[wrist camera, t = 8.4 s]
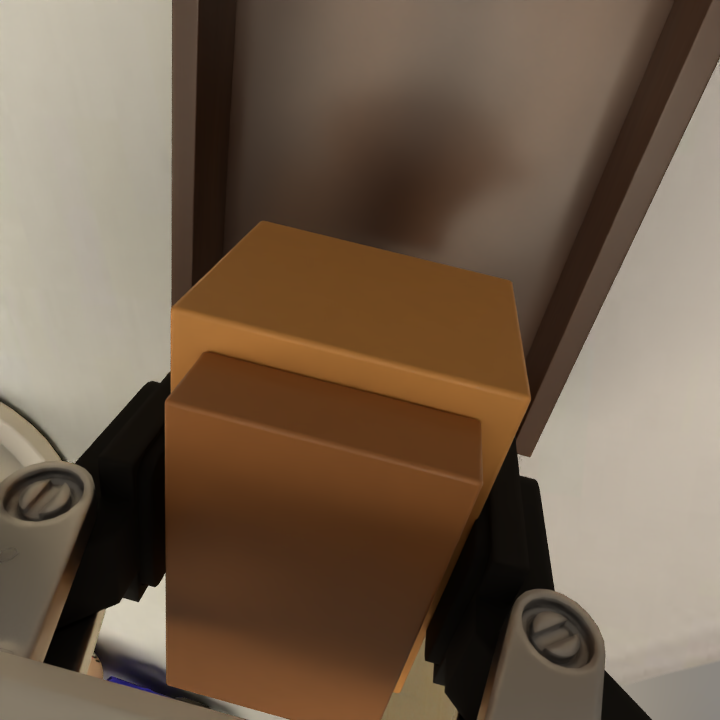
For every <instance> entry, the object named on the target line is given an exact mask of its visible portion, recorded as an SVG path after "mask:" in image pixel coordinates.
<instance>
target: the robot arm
mask: <svg viewBox="0 0 720 720" xmlns="http://www.w3.org/2000/svg"><path fill="white" fill-rule="evenodd" d="M170 394H171V371H170V372H169V373H168V374H167V376H166V377H165V378H164V379H163V380H162V382H161V383H158V382H155V381H150V382H148V383H147V384H145V385H144V386H143V387H142V388H141V389H140V391H139V392H138V393H137V394H136V395H135V396H134V397H133V398H132V400H131V401H130V402H129V403H128V404H127V405H126V406H125V407H124V409H123V410H122V411H121V412H120V413H119V414H118V415H117V416H116V418H115V419H114V420H113V421H112V422H111V423H110V424H109V425H108V427H107V428H106V429H105V430H104V431H103V432H102V433H101V434H100V436H99V437H98V438H97V439H96V440H95V441H94V442H93V443H92V445H91V446H90V447H89V448H88V449H87V450H86V451H85V452H84V454H83V455H82V456H81V457H80V458H79V459H78V460H77V461H76V463H75V464H74V463H70V462H64V461H61V459H60V457H59V456H58V454H57V453H56V452H55V450H54V449H53V448H52V446H51V445H50V444H49V442H48V441H47V440H46V439H45V438H44V437H43V436H42V435H41V434H40V433H39V432H38V431H37V430H36V428H35V427H34V426H33V425H32V424H30V423H29V422H28V421H27V420H25V419H24V418H23V417H22V416H20V415H19V414H18V413H17V412H15V411H14V410H13V409H11V408H10V407H8V406H6V405H5V404H3V403H2V402H0V720H247V719H243V718H240V717H236V716H233V715H229V714H225V713H222V712H218V711H215V710H211V709H208V708H204V707H200V706H197V705H193V704H190V703H186V702H183V701H179V700H176V699H172V698H168V697H165V696H161V695H158V694H154V693H151V692H147V691H143V690H140V689H136V688H133V687H129V686H125V685H122V684H118V683H114V682H111V681H107V680H104V679H100V678H96V677H93V676H89V675H87V671H88V668H89V665H90V662H91V658H92V655H93V652H94V648H95V645H96V642H97V638H98V635H99V632H100V628H101V625H102V622H103V618H104V615H105V611H106V608H108V607H111V606H113V605H116V604H118V603H120V601H121V599H122V598H126V599H129V600H133V601H136V602H139V601H140V599H141V597H142V595H143V594H144V592H145V590H146V588H147V587H148V585H149V586H153V587H156V586H157V585H158V584H159V583H160V581H161V580H162V578H163V576H164V574H165V572H166V546H165V401H166V399H167V397H168V396H169V395H170ZM424 656H425V661H427V662H431V663H434V670H433V683H435V684H439V685H442V686H445V689H444V693H445V694H446V695H447V697H448V698H449V699H450V701H451V702H452V704H453V705H454V706H455V710H454V714H453V717H452V720H652V719H651V718H650V717H649V716H648V715H647V714H646V713H645V712H644V711H643V710H642V709H641V708H640V707H639V706H638V705H637V703H636V702H635V701H634V700H633V699H632V698H631V697H630V696H629V695H628V694H627V693H626V692H625V691H624V690H623V689H622V688H621V687H620V686H619V685H618V683H617V682H616V681H615V680H614V679H613V678H612V677H611V676H610V675H609V674H608V673H607V672H606V671H605V670H604V669H605V646H604V640H603V637H602V635H601V633H600V630H599V628H598V626H597V625H596V623H595V622H594V620H593V619H592V618H591V616H590V615H589V614H588V613H587V612H586V611H585V610H584V609H583V608H582V607H581V606H580V605H579V604H578V603H576V602H575V601H573V600H572V599H570V598H568V597H567V596H565V595H564V594H561V593H558V592H555V590H554V583H553V576H552V570H551V563H550V556H549V549H548V543H547V536H546V529H545V523H544V516H543V509H542V502H541V496H540V489H539V485H538V482H537V481H536V480H535V479H531V478H527V477H523V476H520V475H519V466H518V457H517V448H516V439H515V437H514V439H513V441H512V444H511V446H510V448H509V450H508V453H507V455H506V457H505V459H504V462H503V464H502V466H501V468H500V471H499V473H498V475H497V477H496V479H495V482H494V484H493V486H492V488H491V491H490V493H489V495H488V497H487V500H486V502H485V504H484V506H483V509H482V511H481V513H480V515H479V517H478V519H476V520H475V522H474V524H473V526H472V529H471V531H470V533H469V535H468V538H467V540H466V542H465V544H464V547H463V549H462V551H461V553H460V556H459V558H458V560H457V562H456V565H455V567H454V569H453V571H452V574H451V576H450V578H449V580H448V583H447V585H446V587H445V589H444V592H443V594H442V596H441V598H440V601H439V603H438V605H437V607H436V610H435V612H434V614H433V617H432V619H431V621H430V623H429V626H428V628H427V630H426V639H425V654H424Z"/></svg>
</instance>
